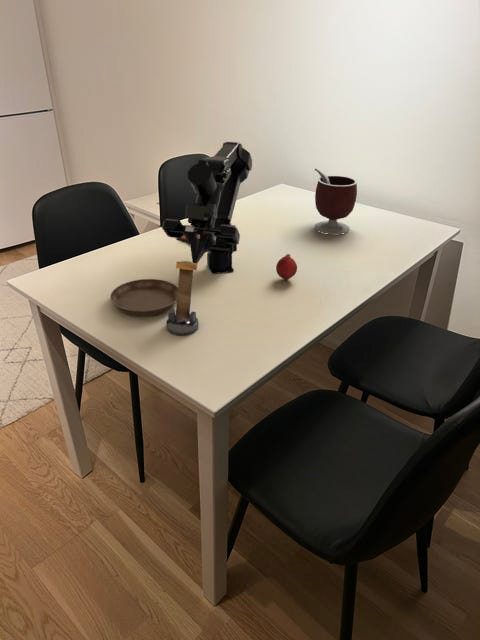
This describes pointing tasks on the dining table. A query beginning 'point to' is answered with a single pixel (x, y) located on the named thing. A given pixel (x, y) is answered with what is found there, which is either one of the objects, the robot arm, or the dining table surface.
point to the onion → (286, 267)
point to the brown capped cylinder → (184, 288)
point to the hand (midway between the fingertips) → (194, 263)
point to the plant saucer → (145, 297)
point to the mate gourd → (334, 201)
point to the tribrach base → (181, 324)
